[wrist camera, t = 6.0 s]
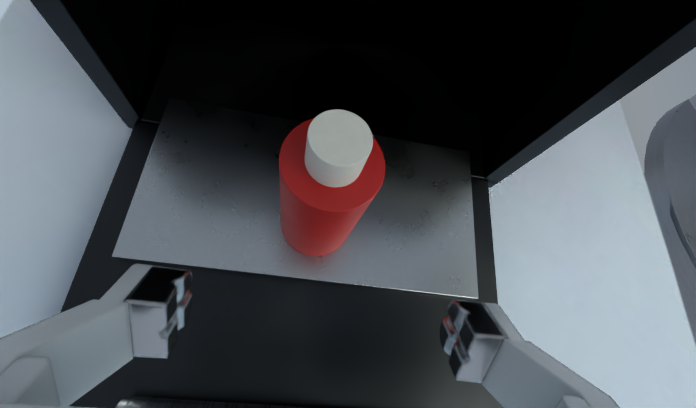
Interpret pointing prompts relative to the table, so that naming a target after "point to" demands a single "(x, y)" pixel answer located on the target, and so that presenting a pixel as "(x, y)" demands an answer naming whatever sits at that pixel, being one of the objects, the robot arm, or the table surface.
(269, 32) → the oven
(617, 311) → the table surface
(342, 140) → the ketchup bottle
